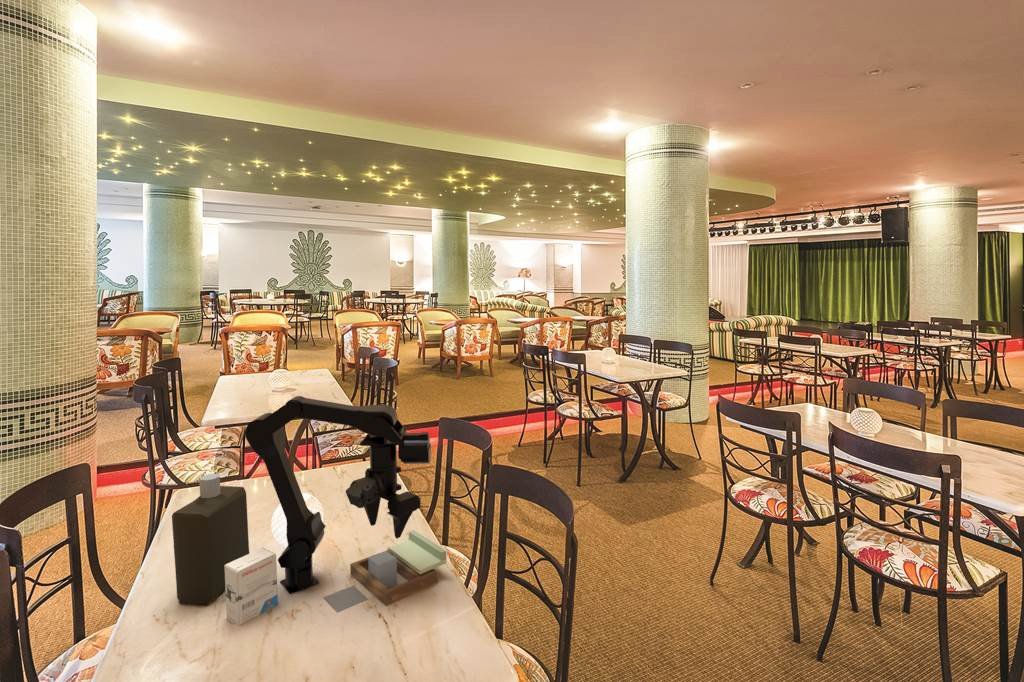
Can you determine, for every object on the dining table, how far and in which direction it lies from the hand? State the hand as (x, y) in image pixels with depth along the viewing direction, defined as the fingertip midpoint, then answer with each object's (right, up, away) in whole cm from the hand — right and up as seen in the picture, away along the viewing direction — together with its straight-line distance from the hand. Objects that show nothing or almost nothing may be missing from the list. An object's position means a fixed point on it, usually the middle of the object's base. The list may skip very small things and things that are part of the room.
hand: (385, 531), depth 121 cm
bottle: (-38, -12, 0) cm, 40 cm away
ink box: (-25, -13, -10) cm, 30 cm away
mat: (-7, -13, -5) cm, 16 cm away
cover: (+6, -8, +6) cm, 12 cm away
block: (-1, -12, 0) cm, 12 cm away
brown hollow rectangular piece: (+1, -12, +2) cm, 12 cm away
